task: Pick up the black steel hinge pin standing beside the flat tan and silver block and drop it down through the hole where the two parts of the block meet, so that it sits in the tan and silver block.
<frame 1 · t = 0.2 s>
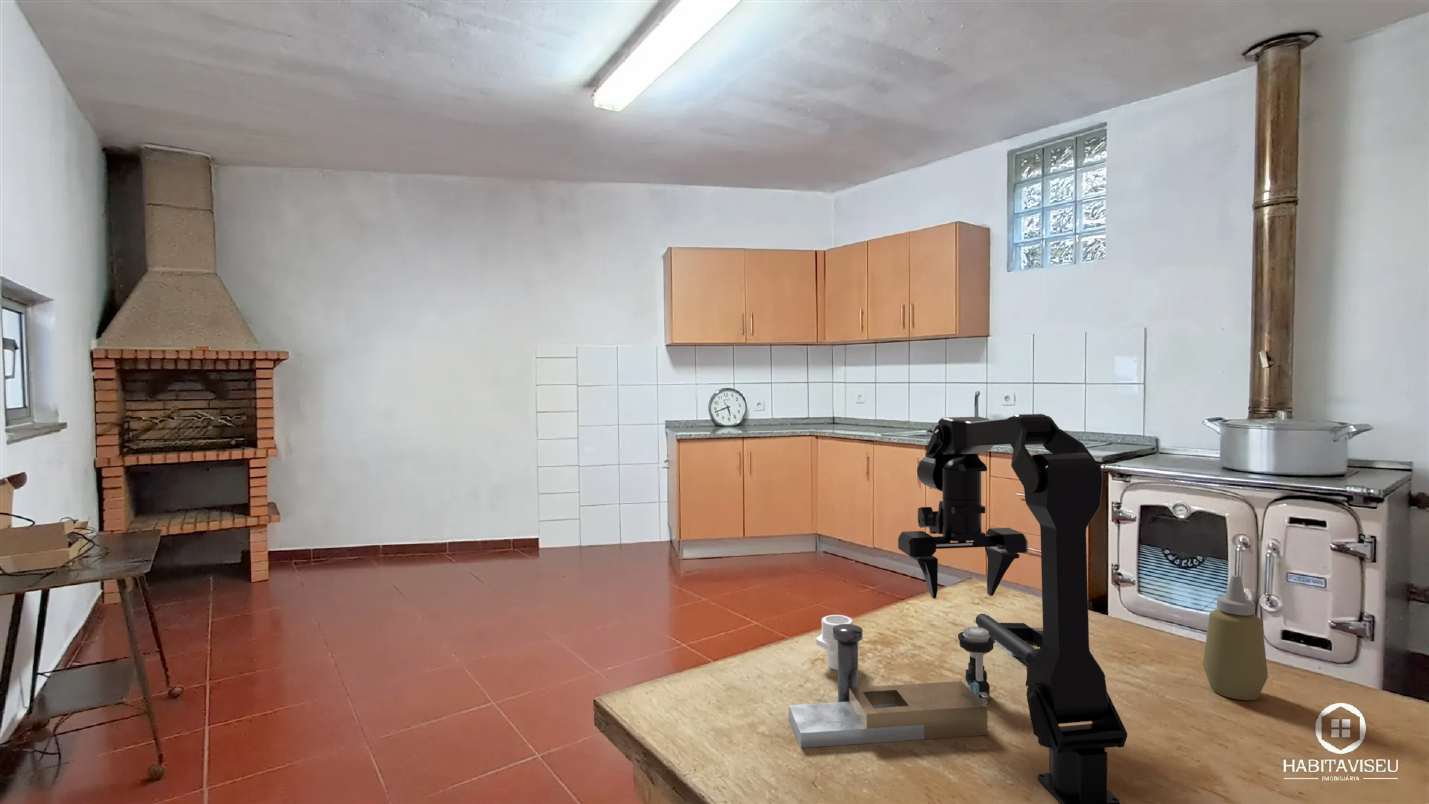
hand: (962, 596, 111), 15 cm above the table, tool pointing down, fingers open, 9 cm apart
tan and silver block: (885, 726, 100), on the table
squeeze bottle: (1234, 694, 108), on the table
pipe fitting: (837, 667, 120), on the table
push button: (977, 698, 108), on the table
door handle: (1036, 648, 128), on the table
hinge pin: (848, 702, 107), on the table
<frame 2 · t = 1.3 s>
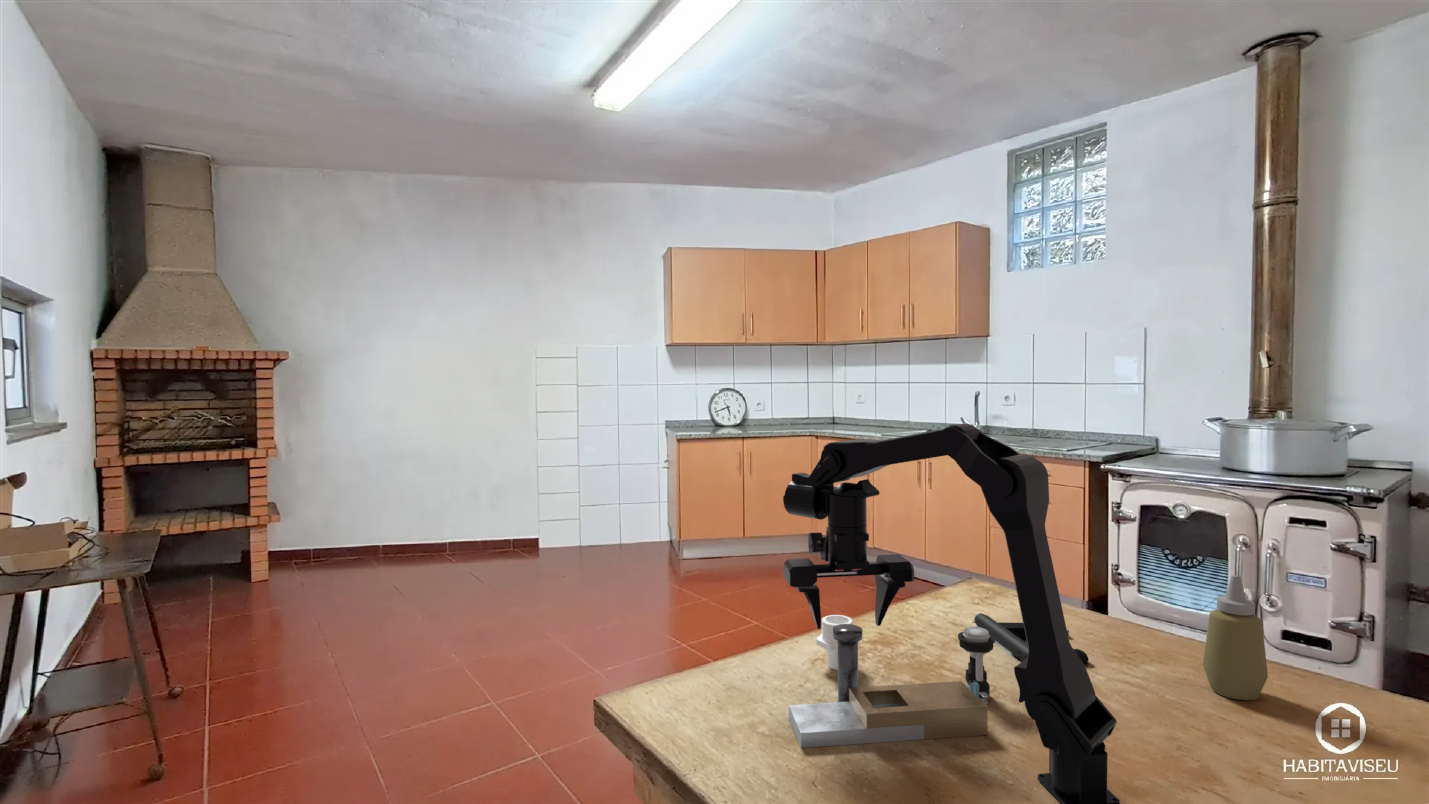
hand: (848, 626, 107), 12 cm above the table, tool pointing down, fingers open, 9 cm apart
nothing on the table moved.
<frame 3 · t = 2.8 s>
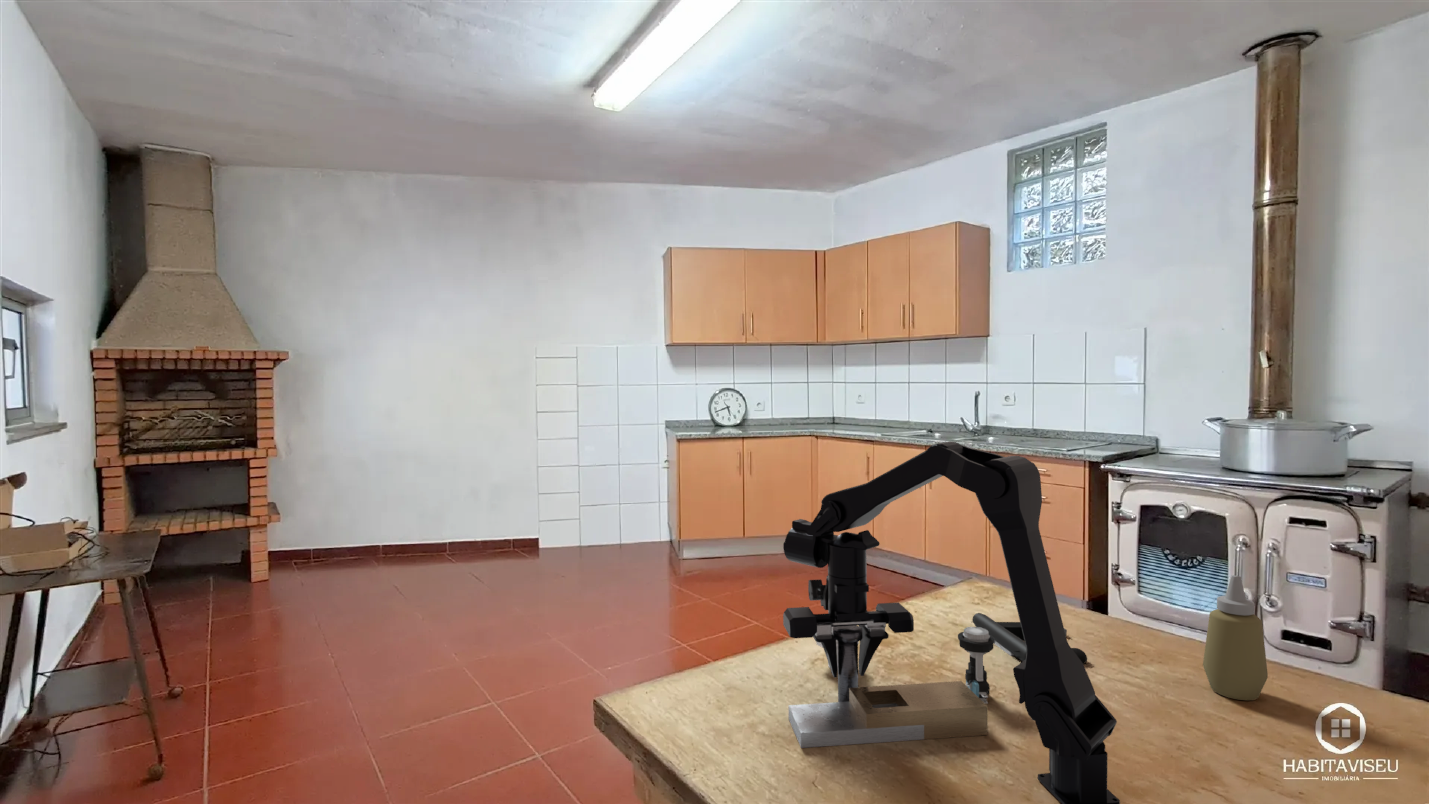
hand: (847, 675, 107), 4 cm above the table, tool pointing down, fingers closed on hinge pin, 4 cm apart
hinge pin: (848, 702, 107), on the table, touching gripper
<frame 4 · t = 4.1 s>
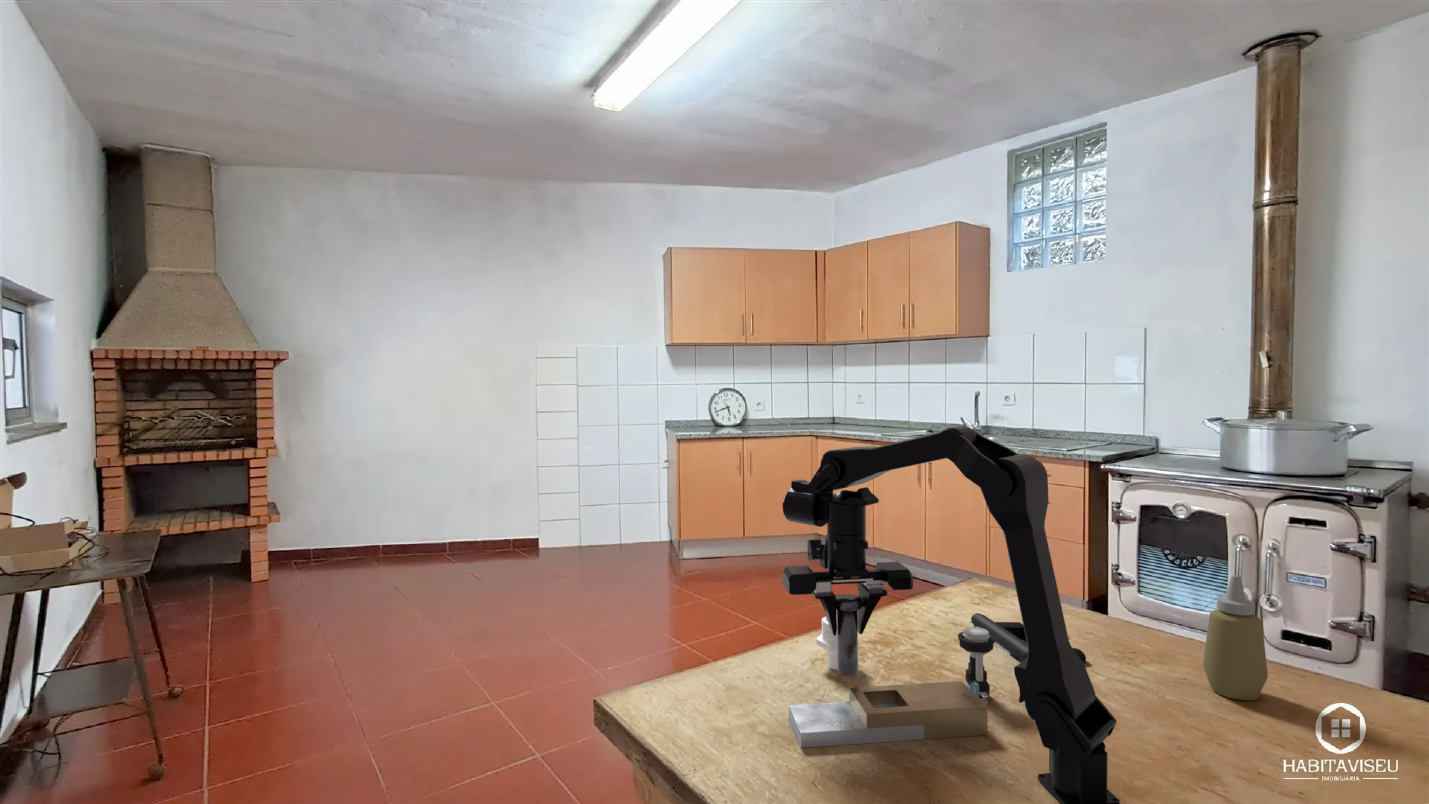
hand: (847, 633, 107), 10 cm above the table, tool pointing down, fingers closed on hinge pin, 4 cm apart
hinge pin: (848, 671, 107), point 5 cm above the table, touching gripper
everything else where it was.
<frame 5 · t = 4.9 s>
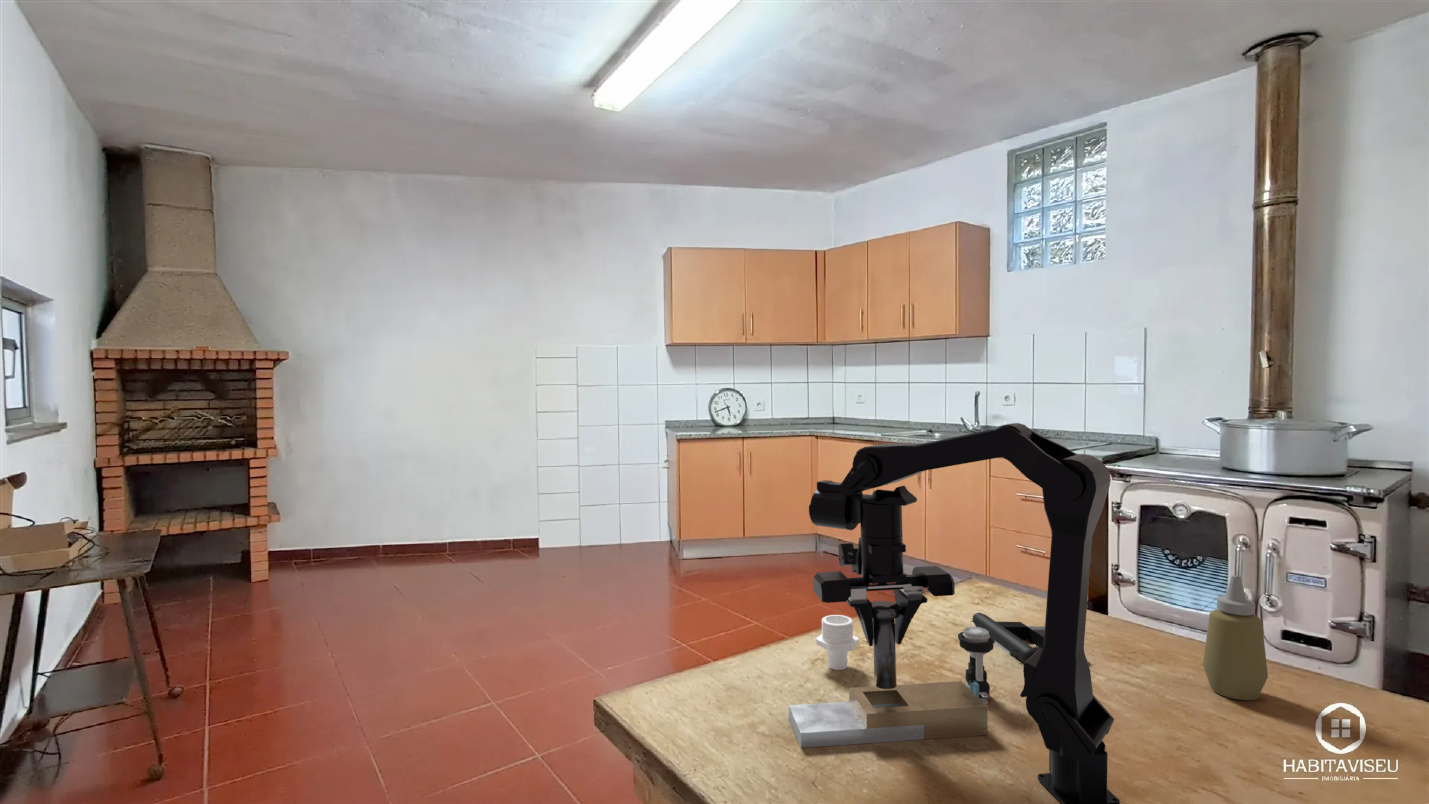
hand: (884, 644, 100), 12 cm above the table, tool pointing down, fingers closed on hinge pin, 4 cm apart
hinge pin: (885, 684, 100), point 6 cm above the table, touching gripper
everything else where it was.
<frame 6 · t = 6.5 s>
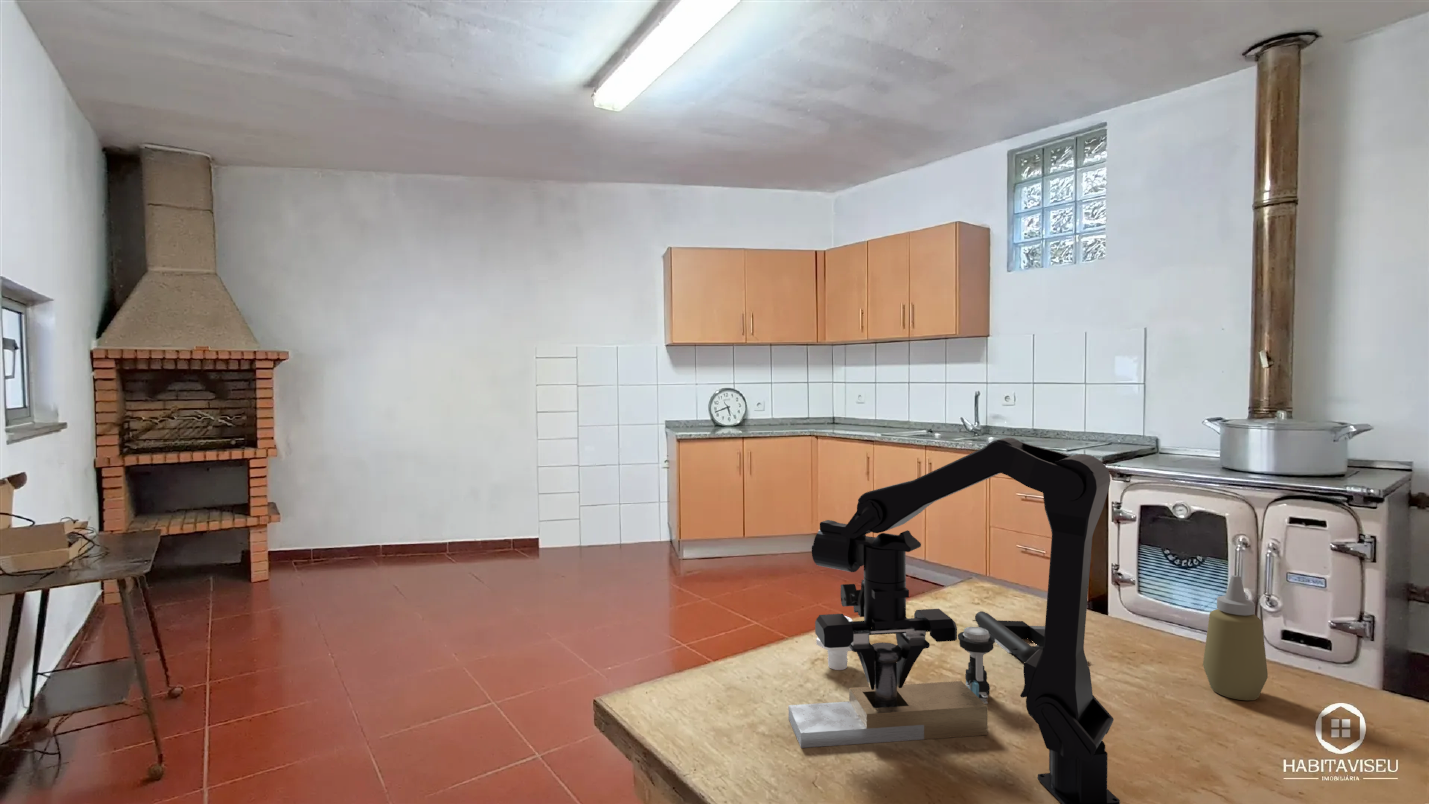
hand: (885, 687, 99), 6 cm above the table, tool pointing down, fingers closed on hinge pin, 4 cm apart
hinge pin: (886, 726, 100), resting in tan and silver block, touching gripper
when the fingers open (6 cm above the table, at t = 7.4 s): hinge pin stays where it is, resting in tan and silver block.
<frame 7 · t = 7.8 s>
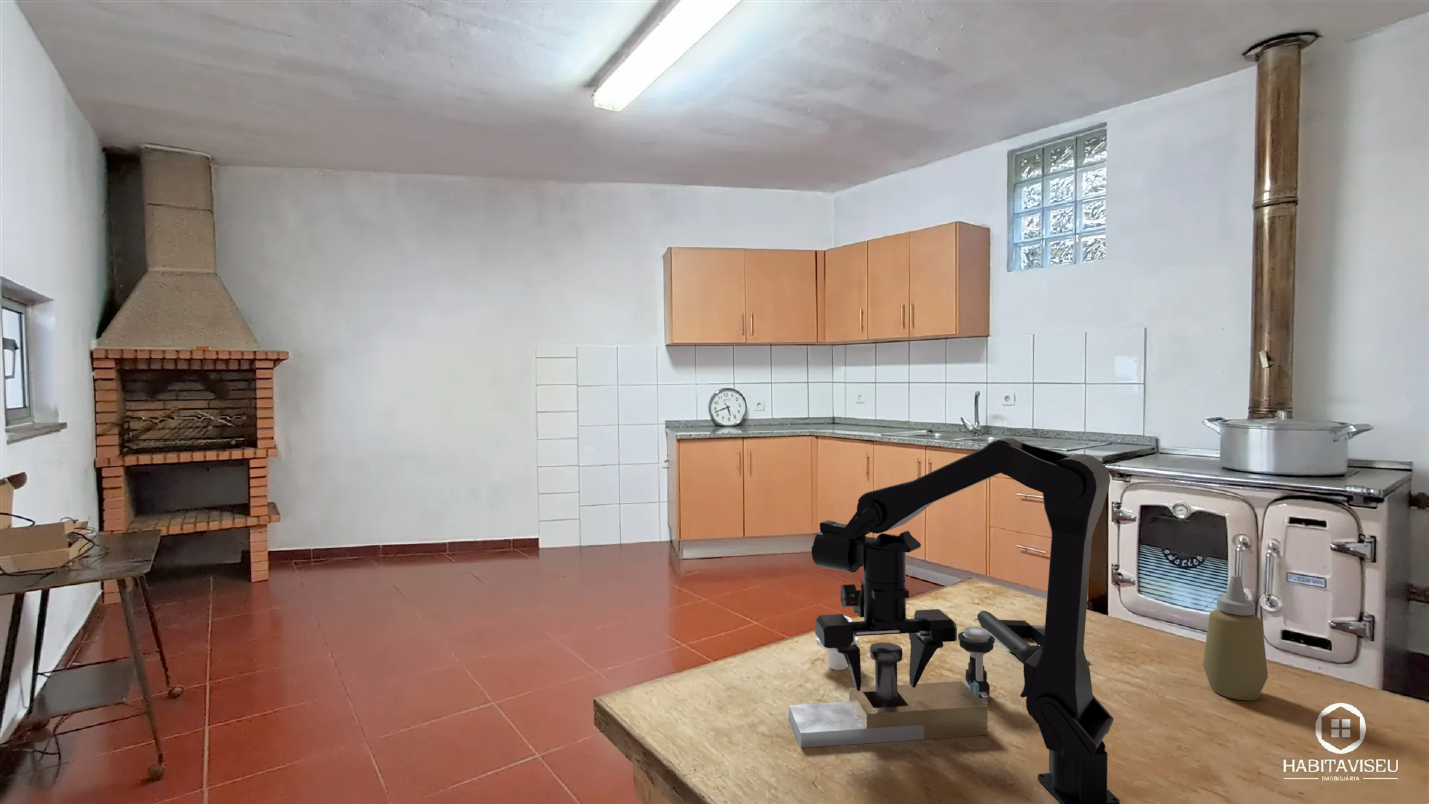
hand: (885, 688, 99), 6 cm above the table, tool pointing down, fingers open, 8 cm apart
hinge pin: (886, 726, 100), resting in tan and silver block
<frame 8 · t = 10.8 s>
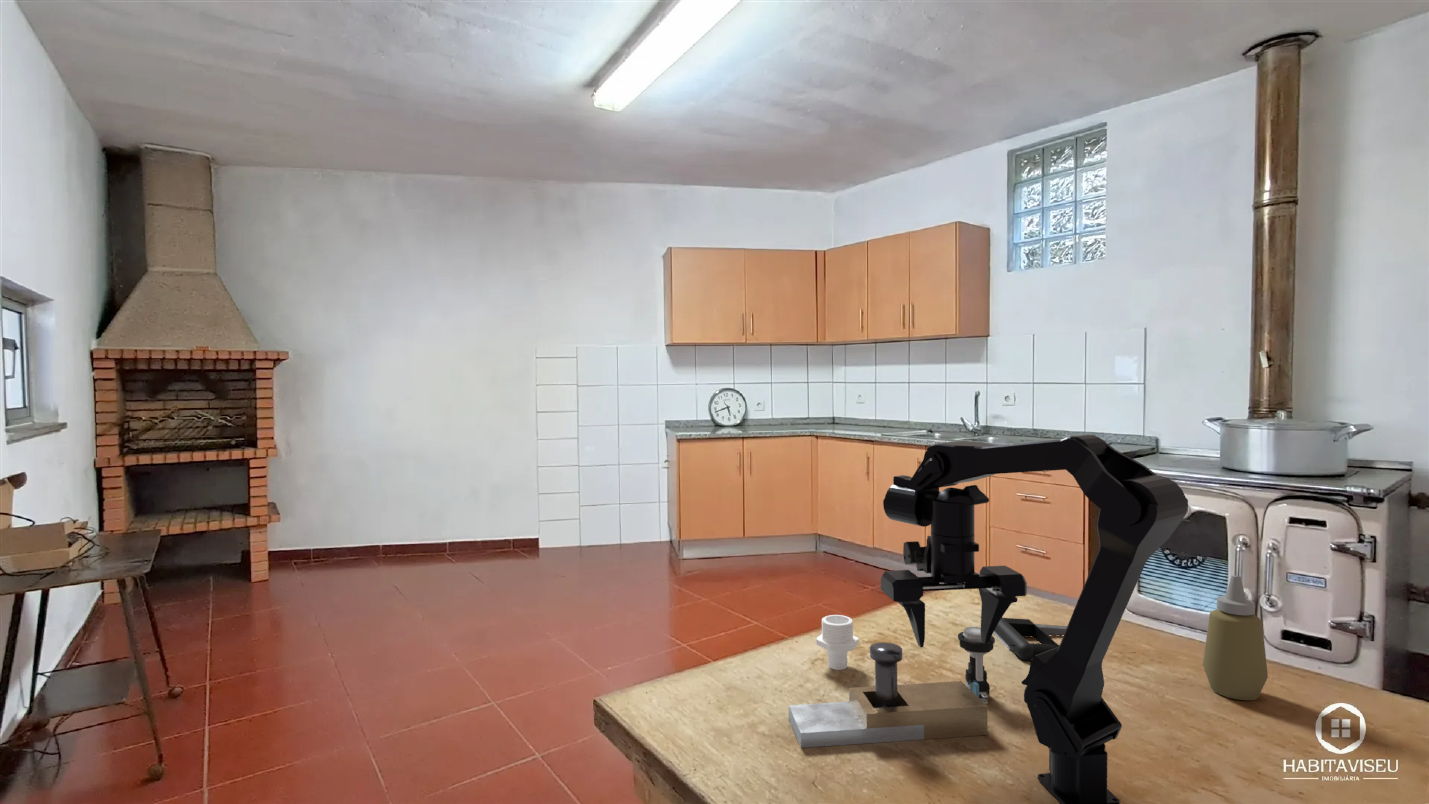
hand: (952, 644, 98), 12 cm above the table, tool pointing down, fingers open, 9 cm apart
at the end: hinge pin 0.1 cm off-centre on the tan and silver block, point 0.0 cm above the tan and silver block's base; hinge pin tilted 0°; the gripper is holding nothing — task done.
